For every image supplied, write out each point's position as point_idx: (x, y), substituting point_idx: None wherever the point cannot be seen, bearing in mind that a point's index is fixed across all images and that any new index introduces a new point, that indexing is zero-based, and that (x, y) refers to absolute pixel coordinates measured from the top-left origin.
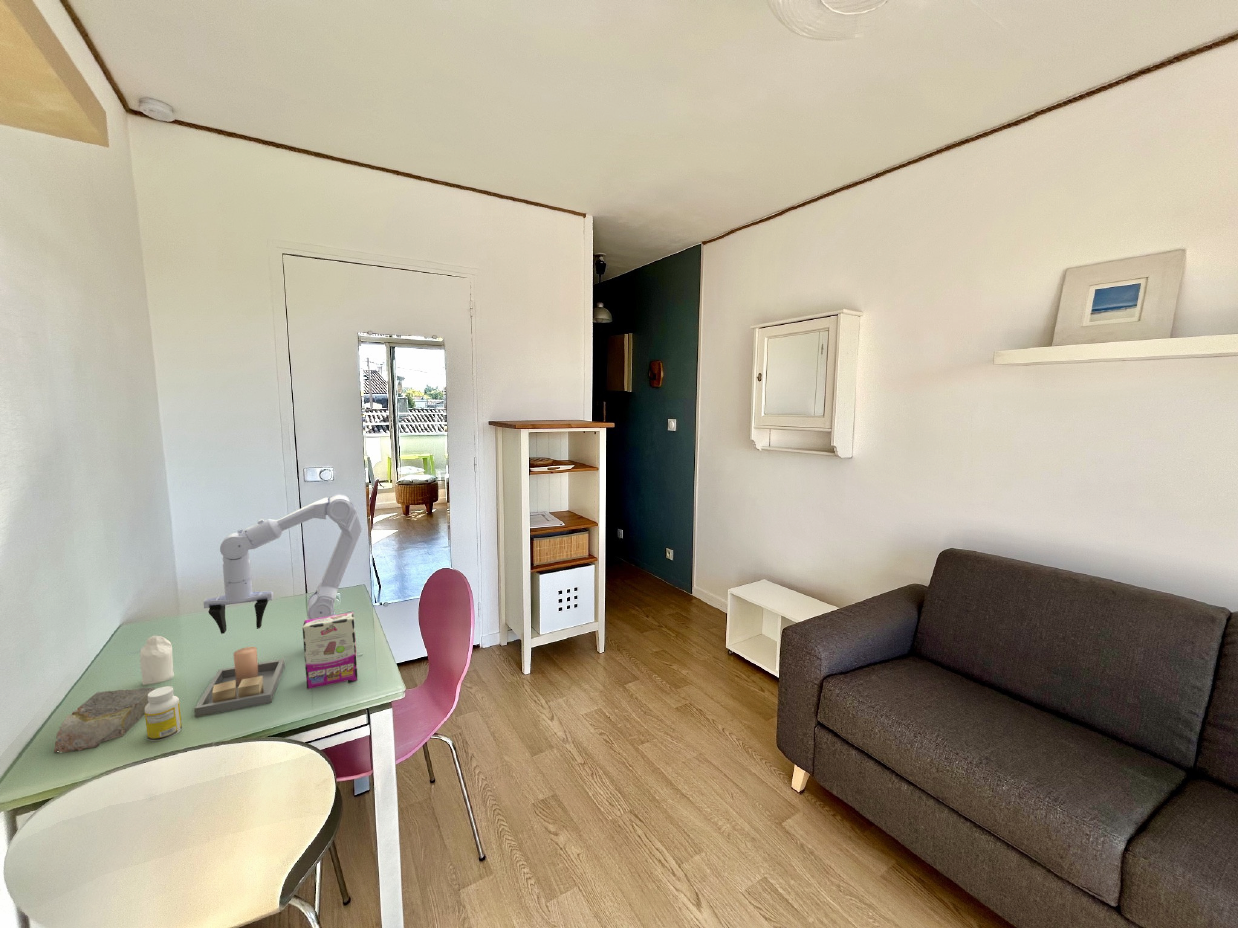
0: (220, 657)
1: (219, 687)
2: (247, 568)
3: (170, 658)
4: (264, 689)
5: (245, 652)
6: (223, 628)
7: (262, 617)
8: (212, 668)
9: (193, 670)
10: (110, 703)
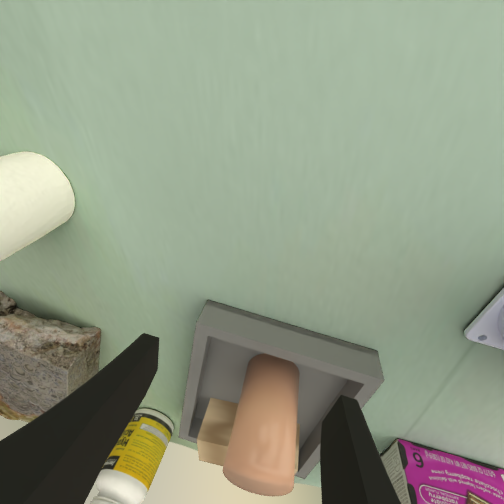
0: (189, 106)
1: (209, 453)
2: None
3: (9, 240)
4: (302, 418)
5: (257, 484)
6: (138, 402)
7: (380, 467)
8: (177, 207)
9: (119, 181)
10: (16, 386)
